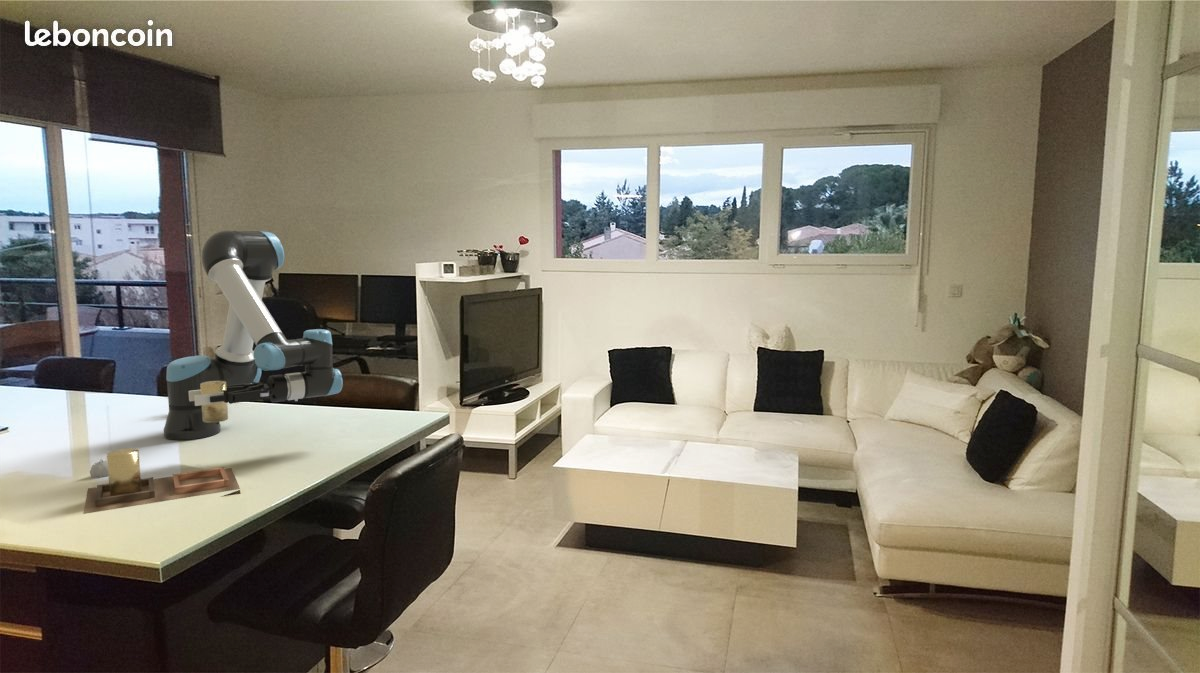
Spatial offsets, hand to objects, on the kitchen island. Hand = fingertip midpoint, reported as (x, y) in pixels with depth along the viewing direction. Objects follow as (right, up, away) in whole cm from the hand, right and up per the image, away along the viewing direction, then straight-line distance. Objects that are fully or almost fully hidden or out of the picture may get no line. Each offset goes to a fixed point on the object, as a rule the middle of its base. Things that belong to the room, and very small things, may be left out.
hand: (192, 398), depth 183 cm
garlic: (-17, -20, -8) cm, 27 cm away
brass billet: (+4, -6, +4) cm, 8 cm away
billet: (-3, -20, -22) cm, 30 cm away
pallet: (+4, -21, -17) cm, 28 cm away
